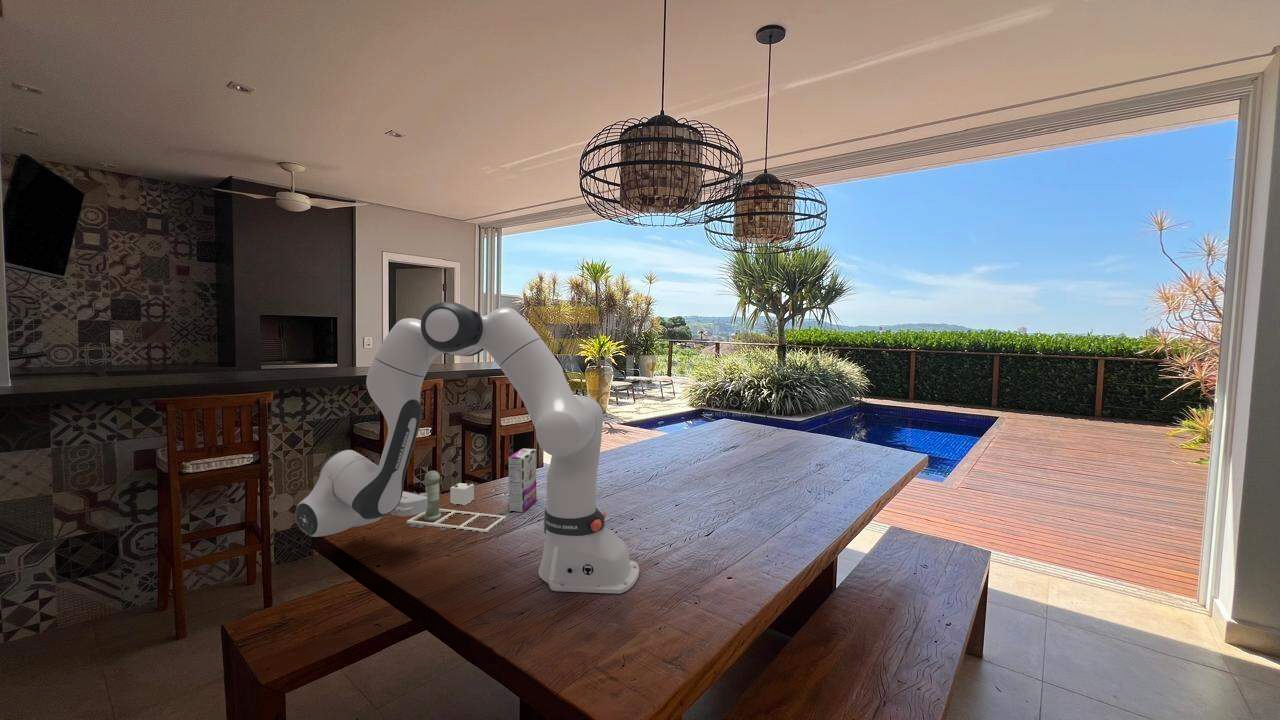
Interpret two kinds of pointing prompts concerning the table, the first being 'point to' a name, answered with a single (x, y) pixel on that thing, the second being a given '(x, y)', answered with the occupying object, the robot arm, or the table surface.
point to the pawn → (432, 496)
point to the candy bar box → (522, 479)
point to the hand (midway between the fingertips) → (411, 492)
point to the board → (436, 524)
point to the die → (462, 493)
